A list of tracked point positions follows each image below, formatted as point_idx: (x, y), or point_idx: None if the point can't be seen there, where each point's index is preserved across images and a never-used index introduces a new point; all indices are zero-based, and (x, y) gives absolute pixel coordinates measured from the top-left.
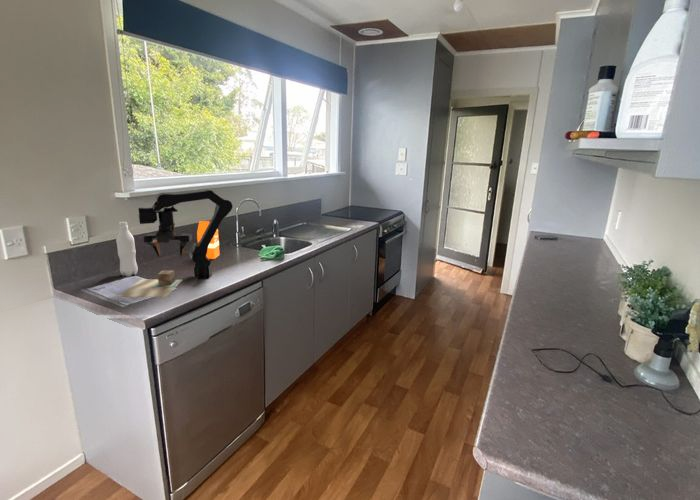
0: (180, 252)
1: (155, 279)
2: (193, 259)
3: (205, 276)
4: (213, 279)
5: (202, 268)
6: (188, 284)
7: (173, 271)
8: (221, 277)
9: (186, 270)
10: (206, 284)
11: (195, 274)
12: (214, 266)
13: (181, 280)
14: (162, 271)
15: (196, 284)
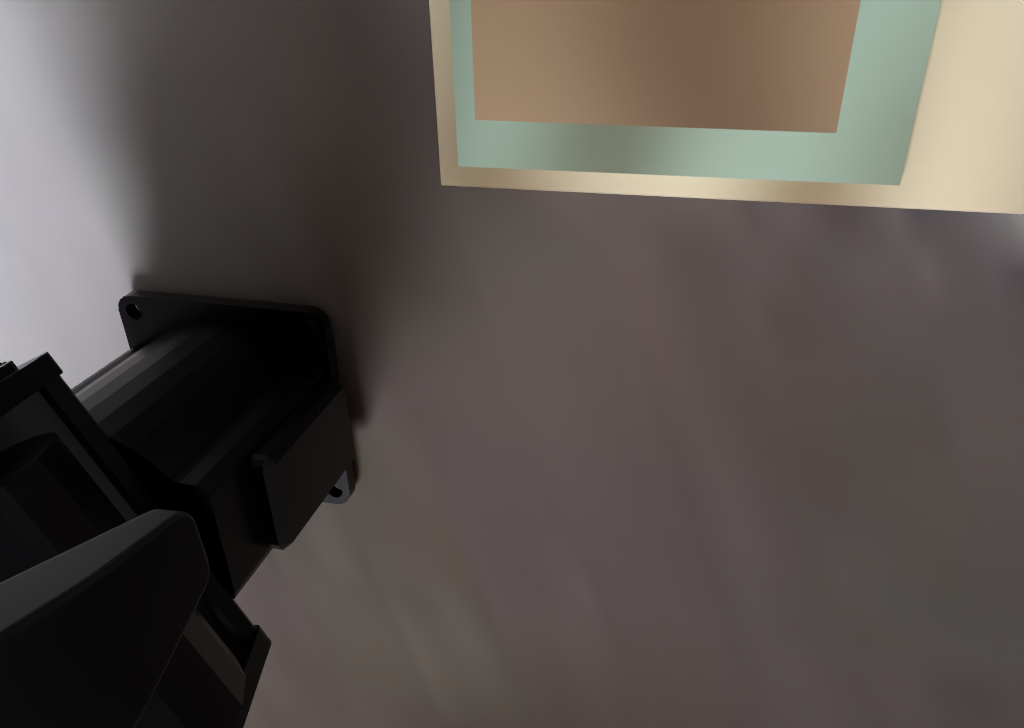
0: (11, 610)
1: (1021, 211)
2: (3, 473)
3: (166, 332)
4: (57, 260)
5: (88, 395)
6: (302, 16)
7: (477, 61)
8: (7, 336)
9: (586, 661)
10: (24, 19)
11: (309, 386)
12: (295, 720)
13: (447, 133)
14: (801, 3)
15: (172, 18)
